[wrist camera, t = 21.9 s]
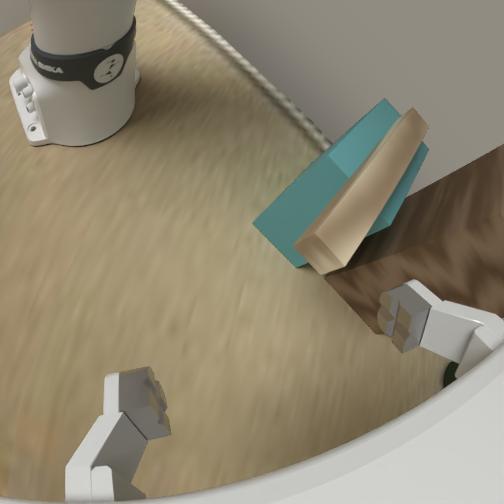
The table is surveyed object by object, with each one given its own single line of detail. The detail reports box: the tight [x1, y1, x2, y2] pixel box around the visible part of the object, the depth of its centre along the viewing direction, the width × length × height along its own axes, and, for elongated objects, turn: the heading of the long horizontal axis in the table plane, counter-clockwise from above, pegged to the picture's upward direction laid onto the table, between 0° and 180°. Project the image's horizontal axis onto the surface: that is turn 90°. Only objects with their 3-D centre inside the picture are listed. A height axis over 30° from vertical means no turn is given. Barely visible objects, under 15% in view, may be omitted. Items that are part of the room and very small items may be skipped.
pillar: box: [324, 144, 504, 334], centre depth 34 cm, size 12×13×26 cm
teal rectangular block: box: [252, 98, 429, 268], centre depth 36 cm, size 8×15×17 cm, turn 139°
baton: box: [293, 108, 429, 275], centre depth 25 cm, size 3×22×3 cm, turn 139°
